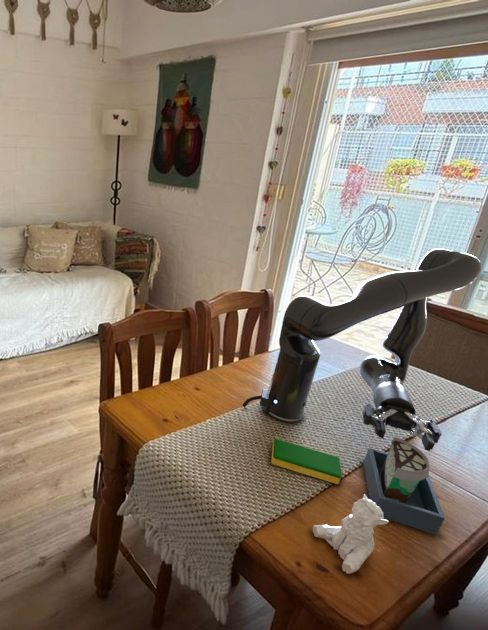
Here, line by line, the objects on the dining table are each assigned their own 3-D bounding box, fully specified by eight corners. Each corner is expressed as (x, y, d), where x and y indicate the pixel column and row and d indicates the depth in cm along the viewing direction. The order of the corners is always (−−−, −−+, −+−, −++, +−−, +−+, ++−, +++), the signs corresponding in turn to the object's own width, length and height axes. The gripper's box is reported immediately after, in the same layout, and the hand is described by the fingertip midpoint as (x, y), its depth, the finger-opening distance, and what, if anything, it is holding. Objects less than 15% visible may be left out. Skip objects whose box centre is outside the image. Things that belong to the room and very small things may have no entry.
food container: (417, 520, 88) (436, 482, 84) (381, 506, 91) (397, 469, 87) (412, 481, 98) (429, 446, 93) (379, 470, 100) (394, 435, 96)
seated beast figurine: (308, 531, 85) (325, 484, 80) (345, 523, 87) (364, 478, 82) (347, 576, 77) (368, 528, 72) (386, 567, 79) (410, 519, 74)
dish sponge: (272, 445, 108) (274, 437, 107) (336, 464, 102) (339, 456, 101) (271, 464, 102) (273, 456, 101) (338, 485, 96) (341, 476, 96)
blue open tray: (372, 514, 90) (380, 498, 88) (362, 462, 103) (368, 447, 101) (436, 534, 85) (445, 518, 84) (417, 478, 99) (424, 463, 97)
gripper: (364, 382, 110) (373, 417, 97) (433, 398, 105) (452, 437, 91) (355, 406, 113) (362, 444, 100) (421, 423, 108) (439, 465, 94)
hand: (405, 441), depth 96 cm, fingers open, 8 cm apart
